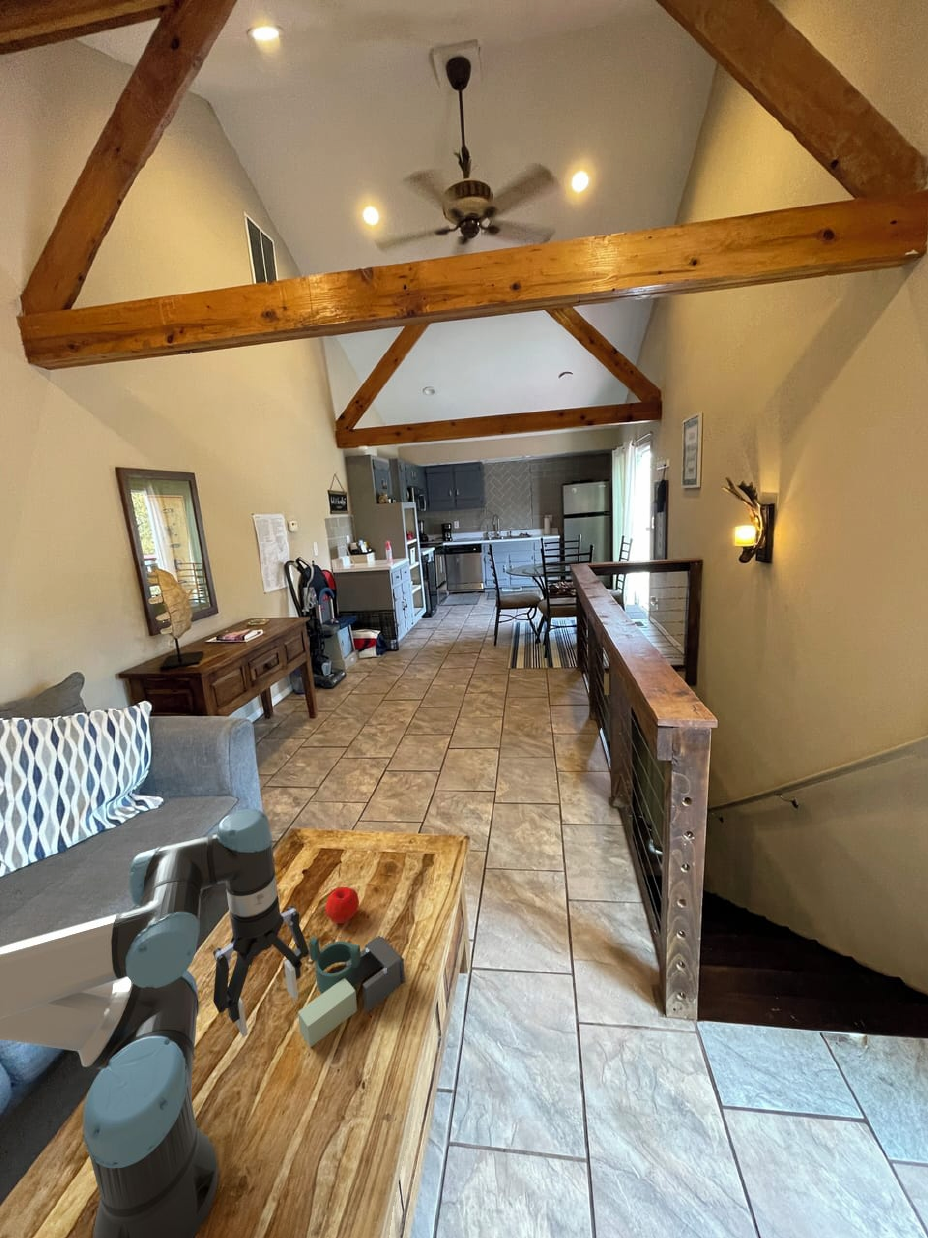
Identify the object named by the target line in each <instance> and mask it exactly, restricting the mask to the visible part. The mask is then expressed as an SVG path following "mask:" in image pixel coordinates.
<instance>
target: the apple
mask: <svg viewBox="0 0 928 1238" xmlns="http://www.w3.org/2000/svg"><path fill="white" fill-rule="evenodd" d="M359 899H360V898H359V896H358V894H357V892H356V891H355V890H354V889H353V888H350V887H347V886H341V887H339V888H336V889H334V890H333V891H332V892H331V893H330V894H329V896H328V898H327V899H326V902H325V909H324V910H325V914H326V915H327V917H328V918H329V919H330V920H331V921H332V922H334V923H336V924H344V923H347V922H348V921H350V920H351V919H352V918H353V917H354V916H355V915H356V913H357V911H358V909H359V907H360V900H359Z"/></svg>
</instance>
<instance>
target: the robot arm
mask: <svg viewBox="0 0 928 1238" xmlns="http://www.w3.org/2000/svg"><path fill="white" fill-rule="evenodd" d="M269 822H270V821H269V819H268V817H267V814H265V812H263V811H261V810H258V809H253V808H246V809H245V808H244V809H241V810H237V811H235V812H234V813H232V814H228V815H227V816H225V817H224V818H223V819H222V820H221V821H220V822H219V823H218V824H219V825H218V827H217V832H215V833H213V834H209V835H204V836H200V837H197V838H192V839H188V840H183V841H178V842H175V843H169V844H164V845H159V846H158V847H157V848H153V849H149V850H147V851H143V852H140V853H138V854H137V855H136V856H134V858H133V860H132V861H131V864H130V869H129V872H130V873H129V877H128V878H129V879H128V880H129V881H128V886H129V894H130V898H131V902H132V903H133V905H135V906H136V907H133V908H131V909H127V910H124V911H120V912H118V913H114V914H110V915H106V916H103V917H99V918H96V919H92V920H90V921H86V922H82V923H79V924H75V925H72V926H69V927H65V928H61V929H58V930H53V931H51V932H47V933H43V934H40V935H37V936H32V937H29V938H26V939H22V940H19V941H16V942H12V943H9V944H5V945H1V946H0V1040H1V1041H2V1040H3V1041H9V1042H15V1043H21V1044H29V1045H34V1046H35V1045H36V1046H41V1047H47V1048H48V1047H49V1048H55V1049H60V1050H61V1049H62V1050H66V1051H67V1050H68V1051H75V1052H77V1053H78V1055H79V1058H80V1062H81V1065H82V1067H84V1068H91V1069H98V1070H100V1071H99V1072H98V1074H97V1075H96V1077H95V1078H94V1080H93V1082H92V1084H91V1086H90V1088H89V1089H88V1092H87V1096H86V1099H85V1101H84V1107H83V1111H82V1112H83V1113H82V1115H83V1116H82V1133H83V1137H84V1140H83V1141H84V1142H83V1143H84V1144H85V1148H86V1150H87V1152H88V1155H89V1159H90V1161H91V1162H90V1163H91V1166H92V1170H93V1174H94V1177H95V1178H94V1179H95V1181H96V1185H97V1189H98V1192H99V1195H100V1198H99V1202H98V1208H97V1212H96V1216H95V1217H96V1218H95V1221H94V1222H95V1223H94V1227H93V1238H195V1237H196V1236H197V1234H198V1232H199V1231H200V1229H201V1228H202V1226H203V1225H204V1222H205V1221H206V1219H207V1217H208V1215H209V1212H210V1210H211V1208H212V1205H213V1203H214V1200H215V1197H216V1193H217V1188H218V1183H219V1165H218V1159H217V1158H218V1157H217V1155H216V1150H215V1148H214V1145H213V1143H212V1141H211V1140H210V1139H209V1137H207V1135H206V1134H204V1132H203V1131H201V1130H200V1128H198V1127H197V1123H196V1118H195V1113H194V1107H193V1101H192V1084H193V1083H192V1082H193V1072H194V1070H193V1069H194V1055H195V1049H196V1048H195V1047H196V1035H197V1033H196V1031H197V1023H198V1022H197V1021H198V1019H197V1018H198V1015H199V1011H200V1010H199V1009H200V1007H199V1006H200V1000H199V989H198V984H197V980H196V979H195V977H194V975H193V974H192V973H191V972H190V971H189V970H188V969H189V968H190V967H191V964H192V963H193V961H194V958H195V956H196V952H197V947H198V940H199V938H200V931H201V923H200V919H201V918H200V917H201V916H200V915H201V906H202V905H201V904H202V903H201V902H202V894H203V890H204V889H208V888H212V887H215V886H218V885H219V884H222V883H223V884H224V883H225V888H226V890H225V891H226V896H227V897H226V898H227V903H228V905H227V906H228V910H229V918H230V924H231V925H230V926H231V932H232V936H231V939H230V943H229V944H227V945H226V946H224V947H223V948H221V947H217V948H215V949H214V950H213V952H212V953H213V957H214V959H215V961H216V963H215V973H214V974H215V975H214V987H213V1000H212V1001H213V1005H214V1006H215V1008H216V1009H217V1012H218V1013H219V1014H222V1013H223V1012H225V1010H226V1009H227V1012H228V1013H227V1014H228V1016H229V1019H230V1020H231V1022H232V1023H233V1024H234V1023H235V1022H236V1027H237V1028H238V1029H237V1030H239V1032H240V1035H241V1036H242V1038H245V1037H246V1036H248V1034H249V1033H248V1027H247V1020H246V1014H245V1007H244V1001H243V1000H242V999H241V995H242V992H243V988H244V985H245V982H246V978H247V975H248V973H249V968H250V967H251V966H252V964H253V962H254V959H255V957H257V956H258V955H259V954H261V953H262V952H263V951H267V950H268V949H270V948H272V947H274V948H275V949H277V950H278V951H279V952H280V954H282V955H283V957H285V958H286V960H285V961H284V964H283V965H284V973H285V980H286V989H287V992H288V994H289V996H290V997H291V999H292V1000H293V1001H294V1002H296V1001H297V1000H299V994H298V985H297V984H298V983H297V980H298V979H300V978H301V968H302V966H303V962H302V959H303V958H306V957H308V955H310V949H309V946H308V944H307V942H306V939H305V937H304V934H303V932H302V928H301V926H300V913H299V912H298V910H297V909H296V908H295V907H294V906H293V905H290V906H288V907H287V909H286V911H284V912H282V913H281V909H280V908H281V907H280V900H279V895H278V894H279V893H278V885H277V876H276V869H275V868H276V867H275V860H274V859H275V858H274V848H273V838H272V833H271V827H270V823H269ZM284 923H285V924H286V925H287V926H288V928H289V931H290V933H291V936H292V939H293V942H294V944H295V947H296V949H295V950H293V949H292V948H291V947H290V946H289V945H288V944H287V943H286V942H285V940H283V938H282V937H280V936H279V933H280V931H281V929H282V927H283V925H284ZM233 952H236V961H235V964H234V967H233V969H232V974H231V977H230V976H229V975H230V965H229V964H230V963H231V961H232V960H231V959H232V956H233V955H232V954H233ZM229 977H230V980H229Z"/></svg>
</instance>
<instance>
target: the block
mask: <svg viewBox="0 0 928 1238" xmlns="http://www.w3.org/2000/svg"><path fill="white" fill-rule="evenodd" d="M356 995H357V994H356V990H355V987H352V986H351V985H350V983H349V982H348V981H347V980H346V979H345V978H343V979H342V980H341V981H339V982H338V983H336V984H335V985H334V986H332V987H331V988H330V989H328V990H327V991H325V992H324V993H323V994H322V993H321V994H320V995H318V996H317V997H316V998H315V999H313V1000H311V1002H309V1003H307V1004H306V1005H305V1006H303V1007H302V1008H301V1009H299V1010H298V1011H297V1016H298V1025H299V1032H300V1034H301V1036H302V1038H303V1039H304V1040H305V1042H306V1044H307V1045H308V1047H309V1049H311V1048H312V1047H314V1045H315V1044H317V1043H318V1042H320V1041H321V1040H322V1039H324V1038H325V1037H326V1036H327V1035H328V1034H329V1033H331V1032H332V1031H333V1030H335V1029H336V1028H338V1026H339V1025H341V1024H342V1023H343V1022H345V1021H346V1020H348V1018H350V1017H351V1016H353V1014H355V1013H356V1012H357V1011H358V1007H357V1005H358V1004H357V996H356Z"/></svg>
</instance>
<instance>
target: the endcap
mask: <svg viewBox="0 0 928 1238" xmlns="http://www.w3.org/2000/svg"><path fill="white" fill-rule="evenodd" d="M360 953H361V961H360V964H359V966H358V967H356V968H353V974H354V986H353V988H355V987H356V986H357V985H358V984H360V983H361V982H362V981H364V980H365V979H366V978H367V977H369V976H370V975H372V974H373V973H374V972H376V971H377V970H378V969H379V968H382V969H381V970H379V971H378V972H377V973H376V974H374V975H373V976H372V977H370V978H369V979H367V980H366V981H365V982H363V983H362V993H363V1005H364V1007H363V1008H364V1010H365V1011H366V1012H367V1013H369V1012H371V1011H372V1009H374V1008H375V1007H377V1006H378V1005H379V1004H380V1003H381V1002H382V1001H384V1000H385V999H386V998H387V997H388V996H390V995H391V994H392V993H394V992H395V991H396V990H398V988H400V987H401V986H402V985H404V984H405V983H406V975H405V974H406V973H405V971H406V970H405V958H403V957H402V956H401V955H400V953H399V952H398V951H397V950H396V949H394V947H393V946H392V945H391V944H390V943H389V942H388V941H387V940H386V939H385V938H384V937H383V936H380V935H378V936H376V937H374V938H373V939H372V940H370V941H369V942H367V943H366V944H365V947H364V949H362V950H360ZM350 965H351V959H350V960H348V961H347V962H344V969H345V968H346V967H349V966H350Z"/></svg>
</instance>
